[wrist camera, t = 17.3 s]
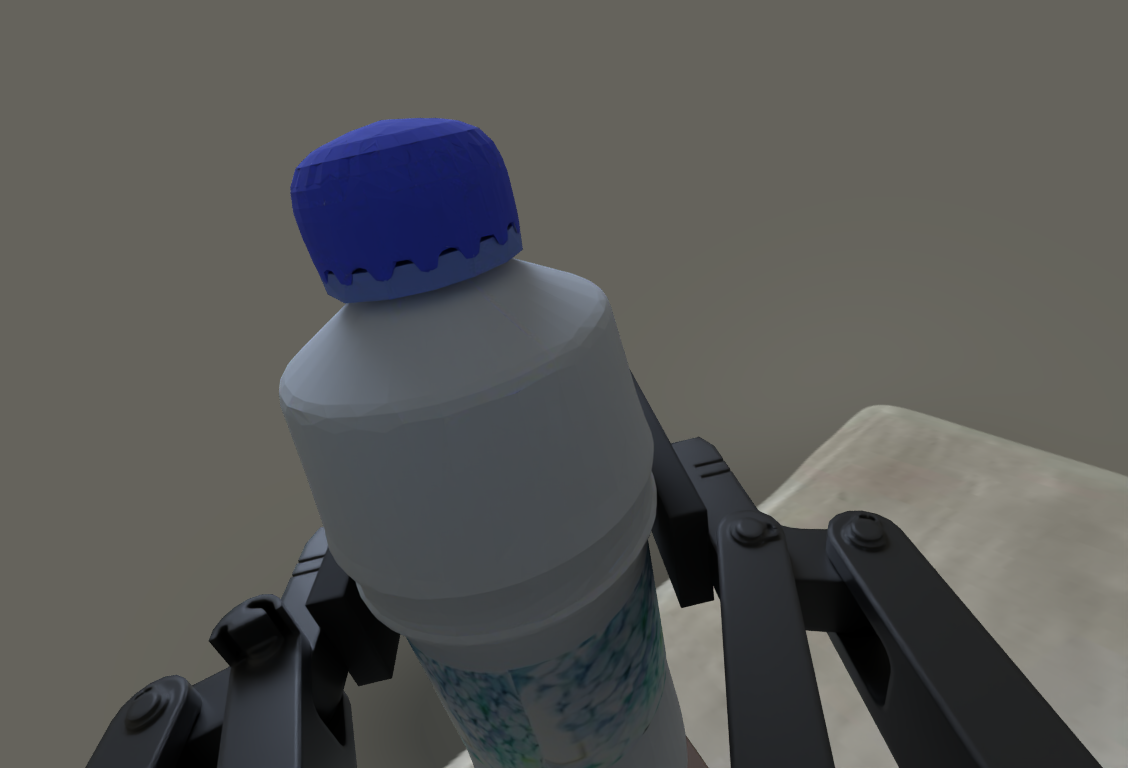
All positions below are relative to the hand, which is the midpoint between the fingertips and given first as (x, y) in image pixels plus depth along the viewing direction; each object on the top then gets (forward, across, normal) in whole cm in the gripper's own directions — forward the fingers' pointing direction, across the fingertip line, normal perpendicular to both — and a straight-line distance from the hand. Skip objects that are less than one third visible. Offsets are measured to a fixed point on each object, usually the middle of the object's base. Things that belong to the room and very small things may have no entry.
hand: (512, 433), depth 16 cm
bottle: (-5, 0, -11) cm, 12 cm away
